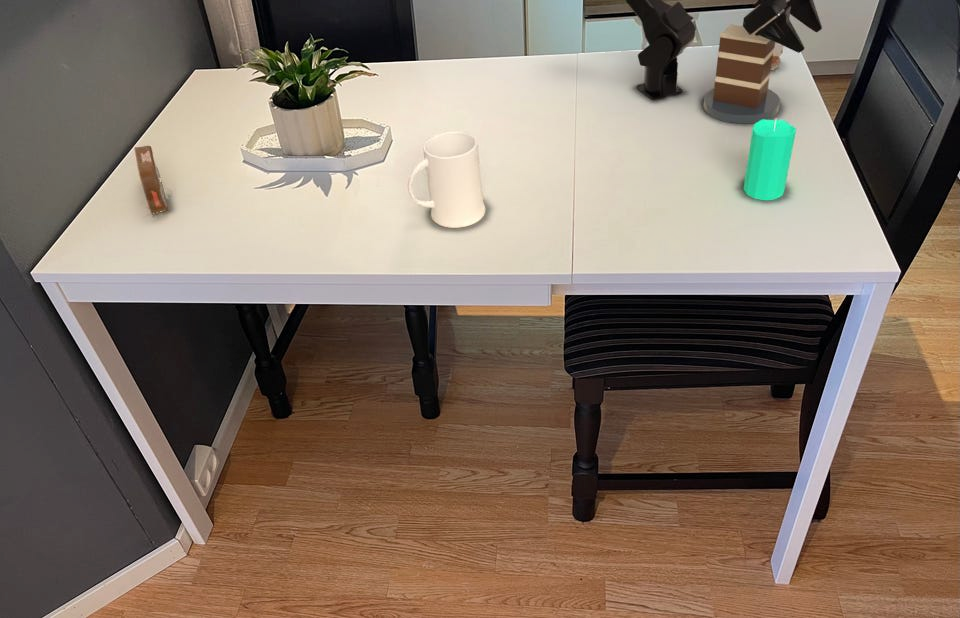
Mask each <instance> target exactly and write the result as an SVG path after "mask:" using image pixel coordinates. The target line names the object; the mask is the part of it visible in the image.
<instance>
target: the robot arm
mask: <svg viewBox="0 0 960 618" xmlns="http://www.w3.org/2000/svg"><path fill="white" fill-rule="evenodd" d="M624 1H625V3H626V4H627V5H628V7H629V8H630V9H631V10H632V12H634V14H635V15H636V16H637V17H638V19H639V20H640V22H641V25H642V29H643V34H644V37H645V40H646V42H647V43H648V45H647V46H646V47H645V48H643V50H641V51H640V52H639V53H638V54H637V58H638V62H639V65H640V66H641V67H644V78H643V83H640V84H636V89H637V90H639V91H640V92H642V94H644V95H646V96H647V98H649V99H651V100H653V101H656V100H659V99H664V98H667V97H671V96H674V95H675V96H676V95H679V94H682V93H683V92H684V89H683V88H681V87H680V86H678V74H679V73H678V69H679V62H678V56H680V55H681V54H683V52H684V50H685V49H686V48H688V47H689V46H690V45H691V44H692V43H693V41H694V39H695V37H696V27H695V26H696V25H695V24H694V22H693V20H694V17H693V16H692V15H690V14H689V13H688V12H687V11H686V9H685V8H684V6H683V4H681V2H680V1H677V2H675V4H673V5H671V4H668V3H667V2H664V0H624ZM814 1H815V0H755V2H754V3H753V7H754V8H753V9H752V10H750V11H749V12H748V13H747V14H746V15H745V16H744V17H743V20H742V26H743V27H744V28H745V30H746V31H747V32H748V34H749V35H751V34H752V33H754V32H755V31H756V30H758V29H759V28H760V29H759V30H758V31H757V32H756V33H755V35H756V36H758V35H759V36H762V37H764V38H767V39H769V40H772V41H774V42H776V43H779V44H781V45H783V47H785V48H787V49H790V50H792V51H793V52H796V53H798V54H800V53H801V52H803V51H804V50H805V46H804V43H803V41H802V40H801V38H800V36H799V34H798V33H797V31H796V29H795V27H794V25H793V24H792V22H791V19H790V16H792V17H794V18H795V19H796V20H797V21H799V22H800V23H801V24H803V25H804V26H806V27H807V28H809V29H810V30H812V32H815V33H819V32H820V31H822V29H823V26H822V22H821V20H820V16H819V14H818V10H817V8H816V5H815V2H814Z"/></svg>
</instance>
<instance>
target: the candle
mask: <svg viewBox="0 0 960 618" xmlns="http://www.w3.org/2000/svg"><path fill="white" fill-rule="evenodd" d="M796 132H797V128H796V127H795V126H794V125H791V124H790V123H789V122H788V121H786V120H785V119H778V118H777V117H775V119H768V120H765V119H762V120H760V121H758V122H756V123H754V124H753V127H752V130H751V136H750V144H749V151H748V156H747V164H746V170H745V177H744V182H743V191H744V193H745V194H746V195H747V196H749V197H751V198H752V199H754V200H760V201H772V200H773V201H774V200H777V199H779V198H781V197H783V195H784V193H785V190H786V184H787V179H788V173H789V169H790V164H791V159H792V154H793V147H794V143H795V138H796Z"/></svg>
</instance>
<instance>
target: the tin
mask: <svg viewBox="0 0 960 618" xmlns="http://www.w3.org/2000/svg"><path fill="white" fill-rule="evenodd" d="M134 153H135V159H136V160H135V161H136V166H137V171H138V176H139V178H140V183H141V186H142V190H143V193H144V197H145V200H146V202H147V205H148V208H149V211H150V214H151V215H156V214H160V213H161V212H160V211H163V212H162V213H164V212H167V211H168V203H167V199H166V198H167V197H166V194H165V189H164V185H163V182H162V180H161V182H160V179H159V178H161V175H160V171H159V169H158V167H157V164H156V162H155V159H154V155H153V154H154V152H153V149H152V146H151V145H143V146H134ZM164 200H165V201H164ZM164 210H166V211H164ZM156 212H158V213H156ZM153 213H154V214H153Z"/></svg>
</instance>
